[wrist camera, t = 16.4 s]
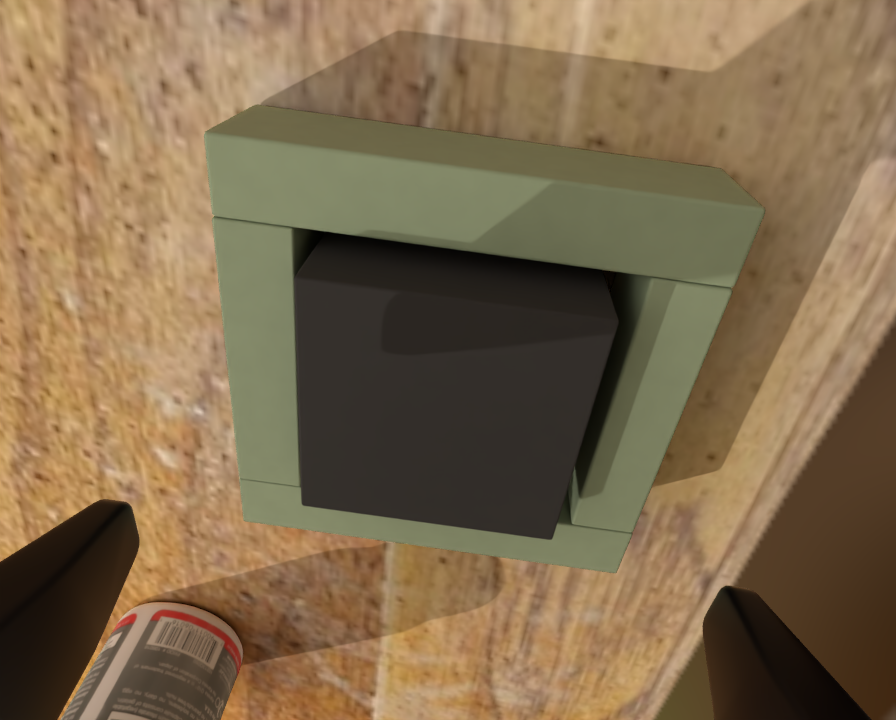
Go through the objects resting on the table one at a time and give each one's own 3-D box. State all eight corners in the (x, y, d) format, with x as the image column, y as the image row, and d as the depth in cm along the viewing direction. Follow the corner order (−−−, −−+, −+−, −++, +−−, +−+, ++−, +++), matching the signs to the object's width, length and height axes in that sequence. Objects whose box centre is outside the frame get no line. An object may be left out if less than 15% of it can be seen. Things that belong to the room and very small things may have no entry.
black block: (594, 242, 13) (620, 320, 10) (543, 438, 16) (552, 542, 13) (340, 208, 13) (292, 276, 10) (337, 410, 16) (300, 507, 13)
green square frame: (253, 103, 12) (201, 130, 10) (723, 167, 12) (769, 208, 10) (274, 455, 17) (242, 521, 15) (603, 501, 17) (616, 574, 15)
